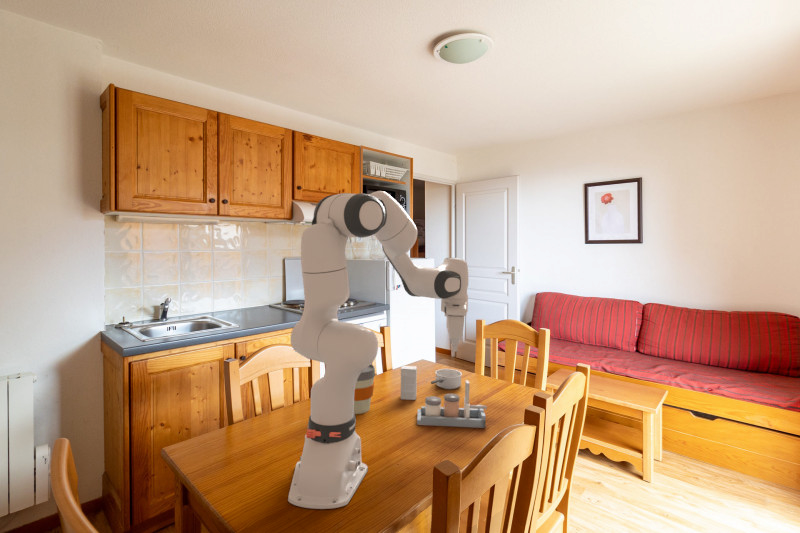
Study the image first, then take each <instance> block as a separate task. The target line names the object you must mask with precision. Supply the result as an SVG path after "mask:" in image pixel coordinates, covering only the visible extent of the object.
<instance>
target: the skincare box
mask: <svg viewBox="0 0 800 533" xmlns="http://www.w3.org/2000/svg"><path fill="white" fill-rule="evenodd" d="M417 367H418V366H416V365H415V366H414V365H401V368H400V400H408V401H409V400H410V401H411V400H412V401H414V400H415V401H416V399H417V393H418V392H417V389H418V388H417V380H418V379H417V374H418V373H417V371H418V368H417Z"/></svg>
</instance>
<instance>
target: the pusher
mask: <svg viewBox="0 0 800 533" xmlns="http://www.w3.org/2000/svg"><path fill="white" fill-rule="evenodd" d="M464 384H465V386H464V388H465V390H464V398H463V399H464V400H463V408H464V417H463V418H470V417H469V414H470V409H483V410H487V408H488V407H487V405H482V406H479V405H480V404H470V381H469V380H468V379H466V380H465V382H464Z"/></svg>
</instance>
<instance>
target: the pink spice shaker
mask: <svg viewBox="0 0 800 533" xmlns="http://www.w3.org/2000/svg"><path fill="white" fill-rule="evenodd" d="M460 399H461V398H460V395H458V394H456V393H446V394H444V395H443V400H444V401H443V407H444V416H443V417H456V418H460V417H459V408H460Z"/></svg>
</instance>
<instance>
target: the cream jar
mask: <svg viewBox="0 0 800 533" xmlns="http://www.w3.org/2000/svg"><path fill="white" fill-rule="evenodd" d="M424 398H425V399H424V403H425V405H424V406H425V415H424V416H435V417H441V416H440V415H441V407H442V398H440V397H438V396H434V395H433V396H432V395H431V396H426V397H424Z"/></svg>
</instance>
